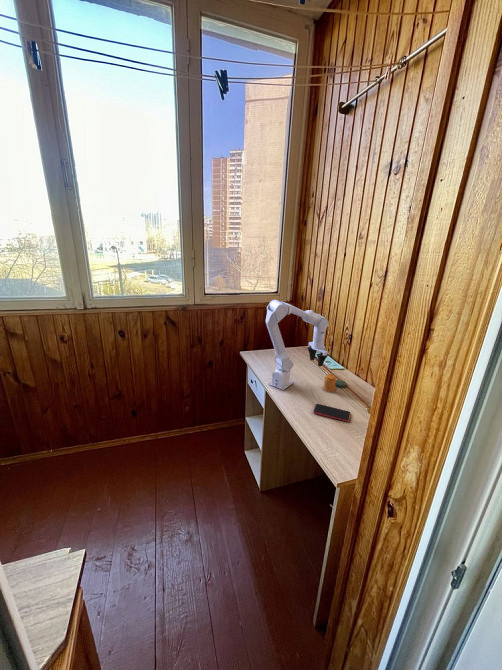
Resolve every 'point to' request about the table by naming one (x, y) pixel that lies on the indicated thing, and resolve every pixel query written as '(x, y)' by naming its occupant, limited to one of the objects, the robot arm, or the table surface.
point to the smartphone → (332, 412)
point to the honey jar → (329, 383)
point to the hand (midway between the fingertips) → (316, 363)
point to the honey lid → (340, 384)
